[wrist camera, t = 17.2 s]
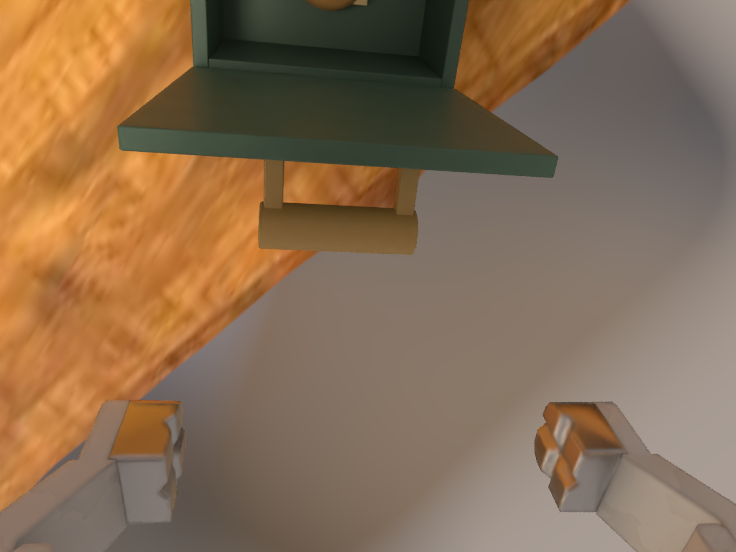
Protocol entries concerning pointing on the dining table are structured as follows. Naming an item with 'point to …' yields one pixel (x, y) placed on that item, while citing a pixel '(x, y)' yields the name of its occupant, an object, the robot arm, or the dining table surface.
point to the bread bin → (333, 39)
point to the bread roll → (335, 4)
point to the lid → (332, 145)
